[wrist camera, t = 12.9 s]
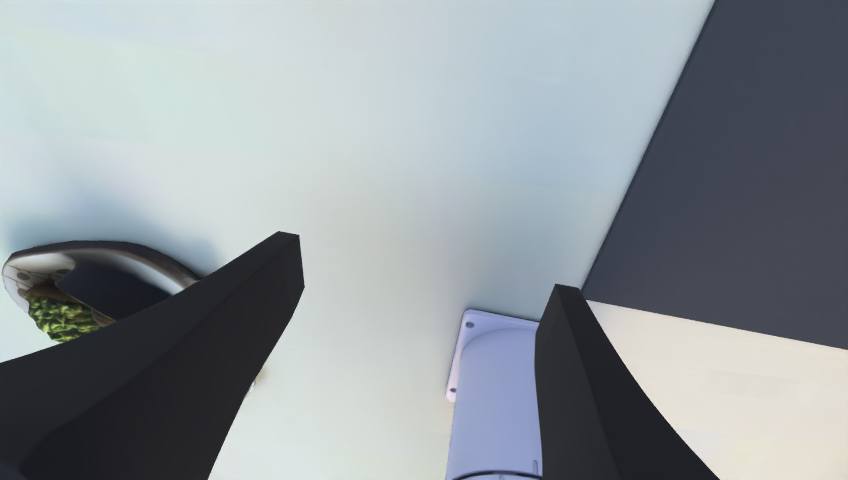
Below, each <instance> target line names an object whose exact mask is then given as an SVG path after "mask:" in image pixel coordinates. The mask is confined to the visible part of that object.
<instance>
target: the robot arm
mask: <svg viewBox="0 0 848 480" xmlns="http://www.w3.org/2000/svg"><path fill="white" fill-rule="evenodd" d="M304 288H305V286H304V277H303V267H302V258H301V249H300V239H299V235H296V234H291V233H286V232H280V231H278V232H276V233H275V234H273V235H271V236H270V237H268V238H267V239H265V240H264V241H262V242H260V243H259V244H257V245H256V246H254V247H253V248H251V249H250V250H248V251H247V252H245V253H244V254H242V255H240V256H239V257H237V258H236V259H234V260H233V261H231V262H229V263H228V264H226V265H225V266H223V267H221V268H220V269H218V270H217V271H215V272H213V273H212V274H210V275H208V276H206V277H205V278H203V279H201V280H199V281H198V282H196V283H194V284H192V285H191V286H189V287H187V288H185V289H184V290H182V291H180V292H178V293H176V294H174V295H173V296H171V297H169V298H167V299H165V300H163V301H161V302H159V303H157V304H155V305H152V306H150V307H148V308H146V309H144V310H142V311H140V312H138V313H136V314H133V315H131V316H129V317H127V318H124V319H122V320H119V321H117V322H114V323H112V324H109V325H107V326H105V327H102V328H100V329H97V330H95V331H92V332H90V333H88V334H85V335H82V336H80V337H77V338H74V339H72V340H69V341H66V342H63V343H60V344H58V345H55V346H52V347H49V348H46V349H43V350H40V351H37V352H34V353H31V354H28V355H25V356H22V357H18V358H15V359H12V360H9V361H5V362H2V363H0V480H208V477H209V475H210V473H211V470H212V468H213V465H214V463H215V461H216V459H217V456H218V454H219V452H220V450H221V447H222V445H223V443H224V441H225V438H226V436H227V434H228V432H229V429H230V427H231V425H232V423H233V421H234V419H235V417H236V415H237V412H238V410H239V408H240V406H241V404H242V402H243V400H244V398H245V396H246V394H247V392H248V390H249V389H250V387H251V385H252V383H253V381H254V380H255V378H256V376H257V375H258V373H259V371H260V370H261V368H262V367H263V365H264V363H265V362H266V360H267V358H268V357H269V355H270V353H271V352H272V350H273V348H274V347H275V345H276V343H277V342H278V340H279V338H280V337H281V335H282V333H283V331H284V330H285V328H286V326H287V325H288V323H289V321H290V319H291V318H292V316H293V313H294V311H295V309H296V307H297V304H298V302H299V300H300V297H301V295H302V292H303V290H304ZM468 322H472V323H468ZM445 398H446V399H447V400H448V401H450V402H455V406H454V414H453V422H452V430H451V438H450V446H449V454H448V462H447V470H446V478H445V480H720V479H719V478H718V477H717V476H716V475H715V474H714V473H713V472H712V471H711V470H710V469H709V468H708V467H707V466H706V465H705V464H704V462H703V461H702V460H701V459H700V458H699V457H698V456H697V455H696V454H695V453H694V452H693V451H692V449H691V448H690V447H689V446H688V445H687V444H686V443H685V442H684V441H683V439H682V438H681V437H680V436H679V435H678V434H677V433H676V431H675V430H674V429H673V428H672V427H671V425H670V424H669V423H668V422H667V421H666V419H665V418H664V417H663V416H662V414H661V413H660V412H659V411H658V410H657V408H656V407H655V406H654V405H653V403H652V402H651V401H650V399H649V398H648V397H647V395H646V394H645V393H644V391H643V390H642V389H641V387H640V386H639V384H638V383H637V382H636V380H635V379H634V377H633V376H632V375H631V373H630V372H629V370H628V369H627V367H626V366H625V364H624V363H623V361H622V360H621V358H620V357H619V355H618V353H617V352H616V350H615V349H614V347H613V346H612V344H611V342H610V341H609V339H608V338H607V336H606V334H605V333H604V331H603V329H602V328H601V326H600V324H599V323H598V321H597V319H596V317H595V316H594V314H593V312H592V310H591V309H590V307H589V305H588V303H587V302H586V300H585V298H584V296H583V295H582V293H581V291H580V290H579V288H576V287H570V286H565V285H560V284H555V286H554V288H553V291H552V293H551V296H550V298H549V301H548V303H547V306H546V308H545V311H544V313H543V316H542V318H541V321H540V323H539V322H533V321H528V320H523V319H518V318H513V317H508V316H503V315H498V314H493V313H488V312H483V311H478V310H471V309H470V310H467V311H465V312H464V314H463V319H462V323H461V327H460V332H459V336H458V340H457V345H456V349H455V353H454V358H453V362H452V366H451V371H450V375H449V379H448V384H447V388H446V392H445Z"/></svg>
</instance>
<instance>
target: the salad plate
mask: <svg viewBox="0 0 848 480" xmlns="http://www.w3.org/2000/svg"><path fill="white" fill-rule="evenodd" d="M2 276H3V281H4V285H5V289H6V291H7V292H8V294H9V295H10V297H11V298H12V299H13V301H14V302H15V303H16V304H17V305H18V306H19V307H20V308H21V309H22V310H23V311H24V312H26V313H27V314H28V315H29V316H30V317H31V318H32V319H34V320H35V322H36V325H37V327H38V328H39V329H41V330H42V331H43V332H47V334H48V335H49V336H50V338H51V340H55V341H58V342H59V343H63V342H66V341H69V340H72V339H74V338H77V337H80V336H82V335H85V334H88V333H90V332H92V331H95V330H97V329H100V328H102V327H105V326H107V325H109V324H112V323H114V322H117V321H119V320H122V319H124V318H127V317H129V316H131V315H133V314H136V313H138V312H140V311H142V310H144V309H146V308H148V307H150V306H152V305H155V304H157V303H159V302H161V301H163V300H165V299H167V298H169V297H171V296H173V295H174V294H176V293H178V292H180V291H182V290H184V289H185V288H187V287H189V286H191V285H192V284H194V283H196V282H198V281H199V279H198V278H197V277H196V276H195V275H194V274H193V273H192V272H190V271H189V270H188V269H186V268H185V267H184V266H182V265H181V264H179V263H178V262H176V261H175V260H173V259H171V258H169V257H167V256H165V255H163V254H161V253H159V252H157V251H155V250H152V249H150V248H147V247H144V246H141V245H137V244H133V243H127V242H109V241H69V242H63V243H56V244H50V245H43V246H37V247H33V248H30V249H25V250H21V251H18V252H15V253H12V254H11V256H10V257H9V258H8V260H7V261H6V263H5V264H4V266H3V269H2ZM255 383H256V382H255V380H254V381H253V383H252V385H251V387H250V389H249V390H248V392H247V394H246V396H245V398H246V397H247V396H248V395H249V394H250V392H251V391H252V389H253V387H254V385H255ZM245 398H244V399H245Z"/></svg>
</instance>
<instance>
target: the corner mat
mask: <svg viewBox="0 0 848 480" xmlns="http://www.w3.org/2000/svg"><path fill="white" fill-rule="evenodd" d="M581 293H582V295H583V296H584V298H585V300H590V301H596V302H601V303H606V304H611V305H617V306H622V307H627V308H632V309H637V310H643V311H648V312H653V313H658V314H664V315H669V316H674V317H679V318H684V319H690V320H695V321H700V322H705V323H711V324H716V325H721V326H726V327H731V328H737V329H742V330H747V331H752V332H758V333H763V334H768V335H773V336H778V337H784V338H789V339H794V340H799V341H805V342H810V343H815V344H820V345H825V346H831V347H836V348H841V349H846V350H848V0H716V2H715V4H714V6H713V8H712V10H711V12H710V15H709V17H708V19H707V21H706V23H705V25H704V28H703V30H702V32H701V34H700V36H699V38H698V40H697V43H696V45H695V47H694V49H693V51H692V53H691V56H690V58H689V60H688V62H687V64H686V66H685V69H684V71H683V73H682V75H681V77H680V79H679V81H678V84H677V86H676V88H675V90H674V92H673V94H672V97H671V99H670V101H669V103H668V105H667V107H666V110H665V112H664V114H663V116H662V118H661V120H660V122H659V125H658V127H657V129H656V131H655V133H654V135H653V138H652V140H651V142H650V144H649V146H648V148H647V151H646V153H645V155H644V157H643V159H642V161H641V164H640V166H639V168H638V170H637V172H636V174H635V176H634V179H633V181H632V183H631V185H630V187H629V189H628V192H627V194H626V196H625V198H624V200H623V202H622V205H621V207H620V209H619V211H618V213H617V215H616V217H615V220H614V222H613V224H612V226H611V228H610V230H609V233H608V235H607V237H606V239H605V241H604V243H603V246H602V248H601V250H600V252H599V254H598V256H597V258H596V261H595V263H594V265H593V267H592V269H591V271H590V274H589V276H588V278H587V280H586V282H585V284H584V287H583V289H582V291H581Z"/></svg>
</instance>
